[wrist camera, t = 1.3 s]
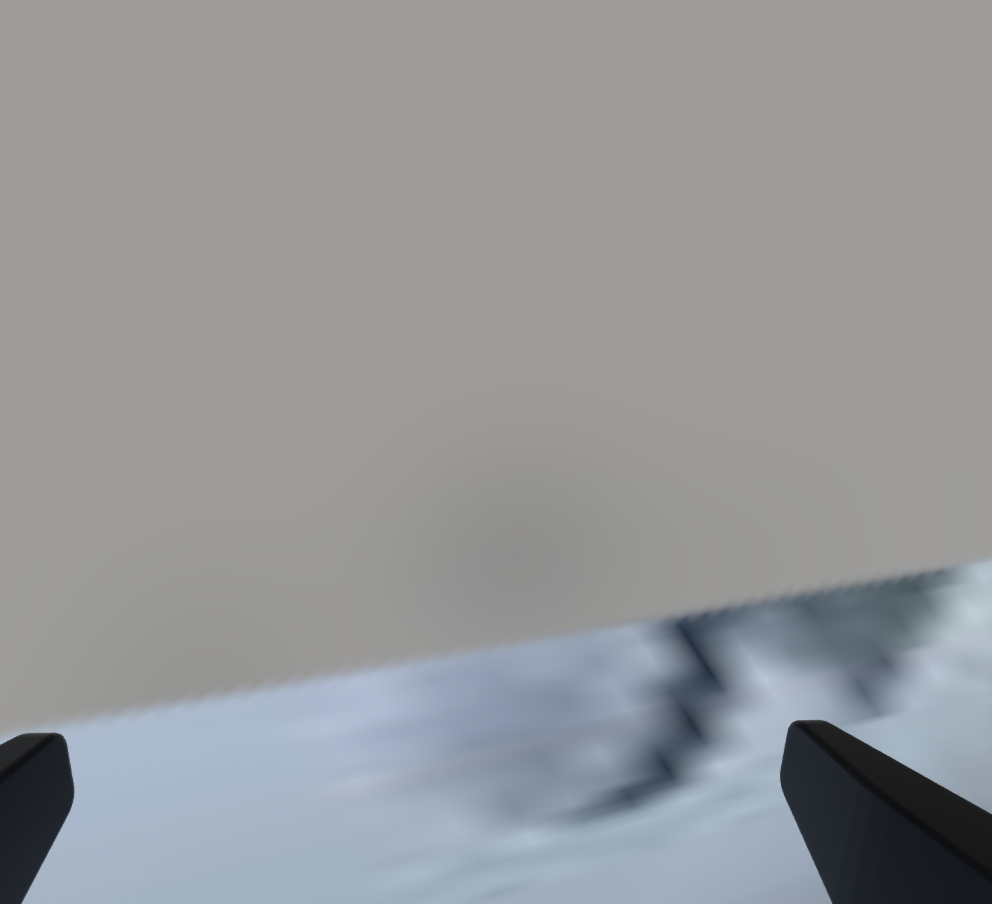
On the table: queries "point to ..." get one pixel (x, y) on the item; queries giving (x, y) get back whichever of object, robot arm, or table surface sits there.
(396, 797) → the table surface
